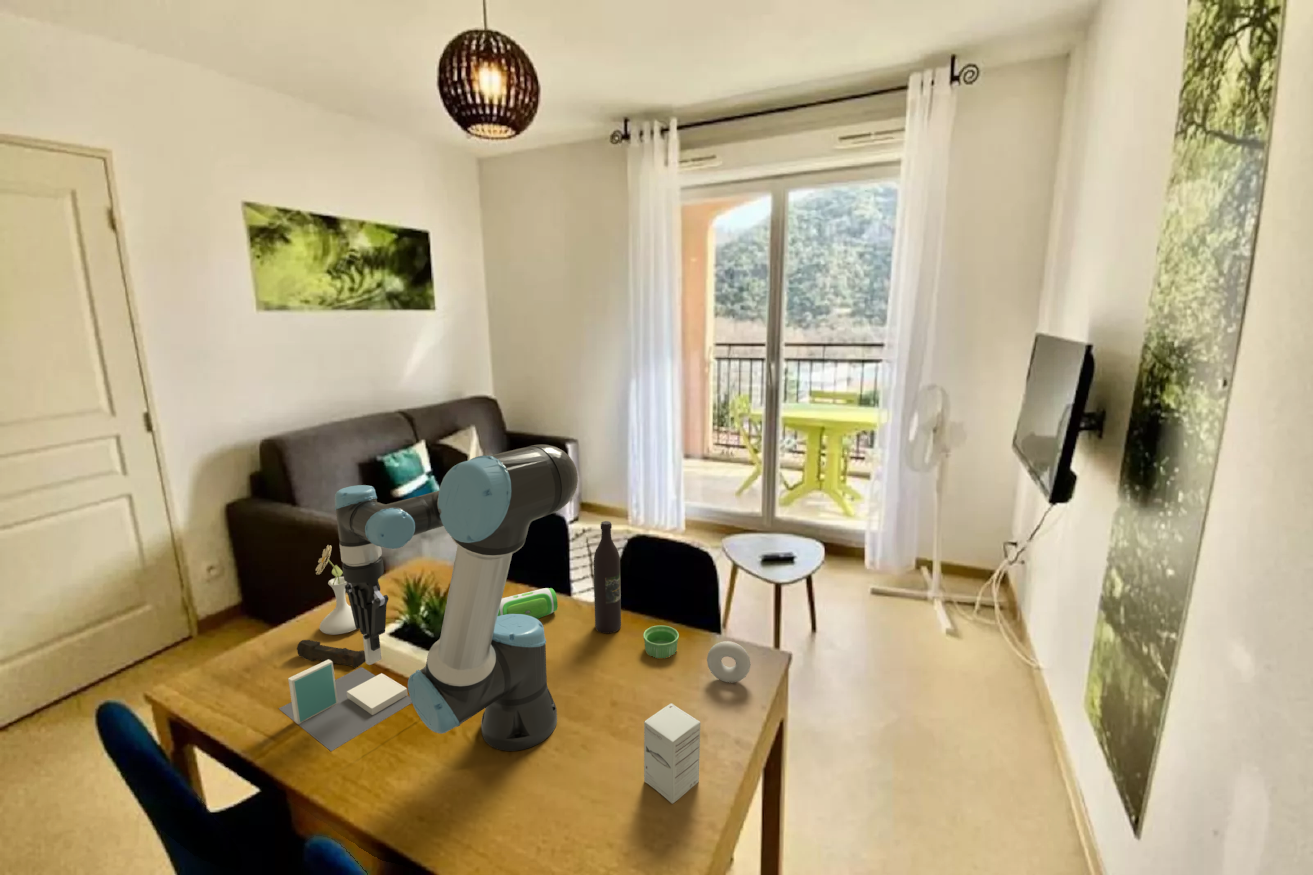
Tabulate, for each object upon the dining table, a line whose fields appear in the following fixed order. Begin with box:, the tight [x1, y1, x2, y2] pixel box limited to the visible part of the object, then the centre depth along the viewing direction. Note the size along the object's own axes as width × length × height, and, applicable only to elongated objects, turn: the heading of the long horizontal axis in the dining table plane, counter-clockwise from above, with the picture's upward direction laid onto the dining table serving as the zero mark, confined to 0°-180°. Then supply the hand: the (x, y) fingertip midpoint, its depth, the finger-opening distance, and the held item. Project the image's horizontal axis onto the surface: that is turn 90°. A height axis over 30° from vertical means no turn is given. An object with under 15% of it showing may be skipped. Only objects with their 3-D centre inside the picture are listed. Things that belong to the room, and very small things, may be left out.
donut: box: [706, 640, 752, 683], centre depth 130 cm, size 10×4×10 cm, turn 76°
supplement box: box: [643, 702, 701, 805], centre depth 101 cm, size 7×7×13 cm
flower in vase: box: [315, 544, 357, 636], centre depth 151 cm, size 13×11×25 cm
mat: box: [278, 666, 413, 752], centre depth 122 cm, size 22×18×1 cm
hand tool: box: [296, 639, 366, 670], centre depth 139 cm, size 19×4×5 cm, turn 73°
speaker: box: [498, 587, 559, 620], centre depth 158 cm, size 18×7×8 cm, turn 120°
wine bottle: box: [593, 520, 622, 634], centre depth 151 cm, size 7×7×30 cm
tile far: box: [347, 672, 409, 715], centre depth 124 cm, size 2×8×10 cm
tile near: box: [287, 659, 338, 725], centre depth 119 cm, size 2×8×10 cm, turn 146°
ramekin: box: [642, 624, 680, 659], centre depth 143 cm, size 9×9×4 cm
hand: (373, 661), depth 123 cm, fingers closed
